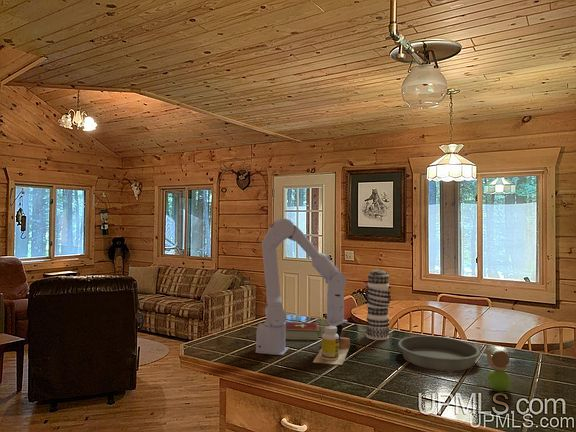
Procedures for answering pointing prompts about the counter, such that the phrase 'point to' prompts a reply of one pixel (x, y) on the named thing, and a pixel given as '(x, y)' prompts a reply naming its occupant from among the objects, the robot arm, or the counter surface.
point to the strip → (343, 350)
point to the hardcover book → (302, 331)
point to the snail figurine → (498, 370)
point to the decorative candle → (377, 305)
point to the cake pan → (438, 352)
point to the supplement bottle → (330, 343)
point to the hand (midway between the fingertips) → (334, 346)
